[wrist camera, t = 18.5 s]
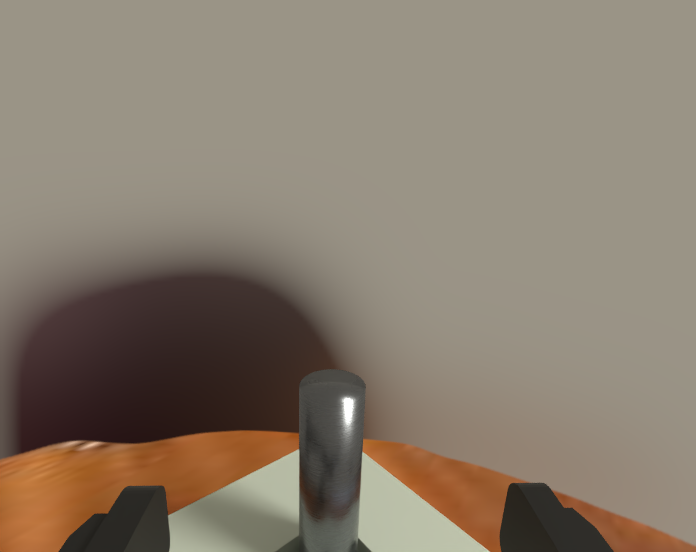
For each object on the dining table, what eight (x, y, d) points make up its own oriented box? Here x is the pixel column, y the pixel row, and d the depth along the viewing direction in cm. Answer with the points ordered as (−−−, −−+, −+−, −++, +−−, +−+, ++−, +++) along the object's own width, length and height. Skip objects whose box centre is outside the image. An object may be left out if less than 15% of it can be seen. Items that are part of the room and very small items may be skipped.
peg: (320, 665, 22) (326, 412, 18) (287, 614, 24) (286, 382, 20) (365, 622, 24) (379, 388, 20) (330, 579, 26) (337, 363, 22)
